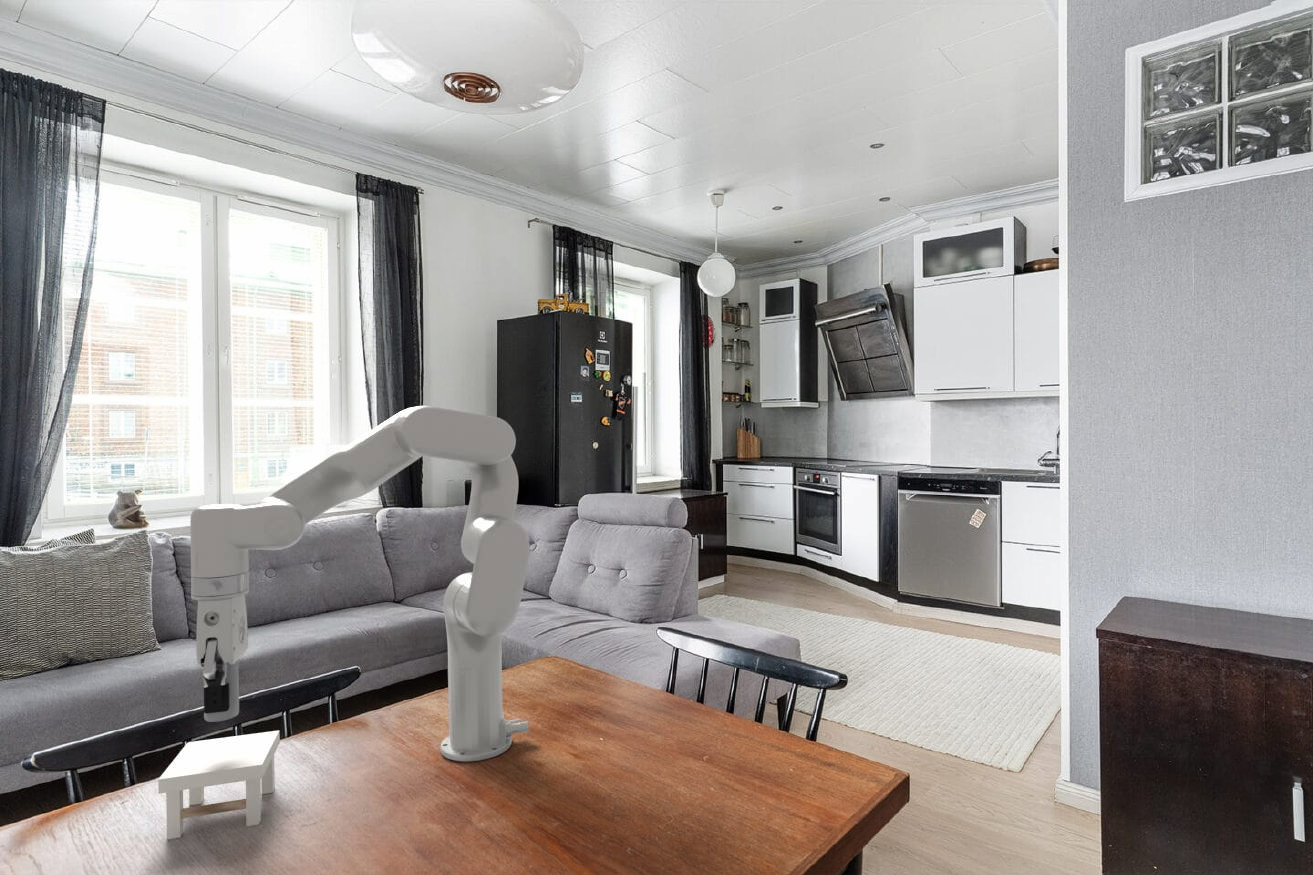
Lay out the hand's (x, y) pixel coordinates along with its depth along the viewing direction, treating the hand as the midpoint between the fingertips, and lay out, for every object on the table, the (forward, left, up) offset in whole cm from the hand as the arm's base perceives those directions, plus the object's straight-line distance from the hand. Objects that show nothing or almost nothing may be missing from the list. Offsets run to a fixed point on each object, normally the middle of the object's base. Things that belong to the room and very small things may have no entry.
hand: (221, 704), depth 108 cm
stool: (0, 0, -16) cm, 16 cm away
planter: (0, 0, -2) cm, 2 cm away
